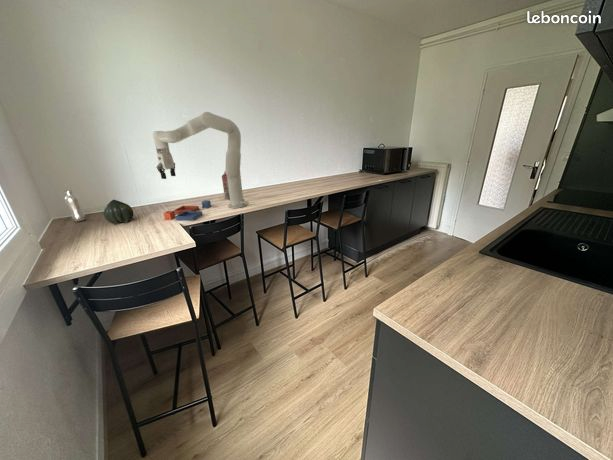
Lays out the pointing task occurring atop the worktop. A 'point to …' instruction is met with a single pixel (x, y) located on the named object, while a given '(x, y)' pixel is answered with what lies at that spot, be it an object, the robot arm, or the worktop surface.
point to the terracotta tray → (186, 209)
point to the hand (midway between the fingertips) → (168, 177)
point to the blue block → (206, 204)
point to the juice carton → (225, 186)
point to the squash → (118, 212)
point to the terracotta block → (169, 215)
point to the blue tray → (189, 215)
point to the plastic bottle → (74, 206)
